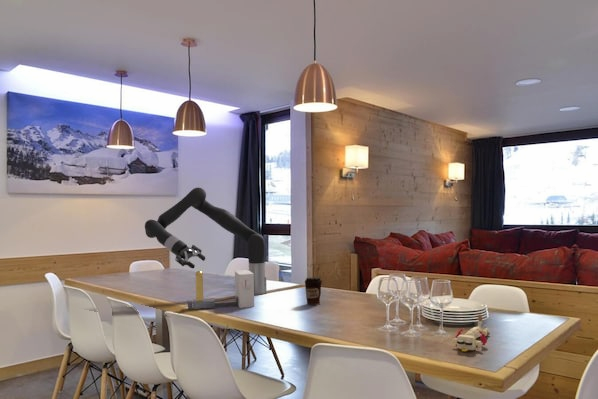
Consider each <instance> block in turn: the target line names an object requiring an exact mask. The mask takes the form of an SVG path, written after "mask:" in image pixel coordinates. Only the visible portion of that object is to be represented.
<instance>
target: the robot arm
mask: <svg viewBox="0 0 598 399" xmlns="http://www.w3.org/2000/svg"><path fill="white" fill-rule="evenodd" d="M206 198H207V192H206V190H205V189H204V188H202V187H194V188H193V189H191V190H190V191H189V193H187V194H186V195H185V196H184V197H183V198H182V199H180V200H179V201H178V202H177V203H176V204H173V206H171V207H170V208H169V209H167V210H166V211H164V212H163V213H161V214H160V215H159V216H158V217H157V220H154V219H149V220H146V221H145V223H144V229H145V230H144V231H145V235H146V237H147V238H150V239H154V238H156V240H157V242H158V243H159V244H160V245H162V246H164V247H165V248H166V249H167V250H168V251H169V252H171V253H172V255H174V256H175V258H174V259H175V261H176V262H177V263H178V264H179V265H180V266H182V267H184V266H188V267H189V268H191V269H195V267H196V264H194V263H193V262H191V261H189V259H191V258H192V257H193V258H194V257H195V258H196V257H197V258H199V259H200V260H202V261H203V262H204V261H206V256H205V255H203V254H202V251H203V250H202V249H201V248H199V247H197V246H196V245H194V244H192V246H191V247H189V246H188V245H187V243H186V242H184V241H182V240H180V238H178V237H176V236H175V235H173V234H172V233H170V232H168V231H167V230H166V229H167V227H169V226H170V225H172V223H174V222H176V221H177V220H178V219H179V218H181V216H182V215H183V214H184V213H185V212H186V211H187V210H188V209H190V208H191V207H192V208H193V209H195V210H197V211H199V212H200V213H202V214H204V215H206V216H207V218H209V219H211V220H212V221H213V222H214V223H216V224H217V225H218V226H220V227H221V228H223V229H224V230H226V231H227V232H229V233H231V234H233V235H235V236H237V237H238V238H240V239H242V240H243V241H244V242H245V243H247V259H248V270H249V271H250V272H252V273H253V274H254V296H255V295H256V296H257V295H265V294H267V293H268V292H267V289H268V288H267V276H266V256H265V244H266V240H265V237H264V236H263V235H262V234H261V233H259V232H256V231H255V230H253V229H251V228H250V227H249V226H247V225H246V224H245V223H243V221H241V220H240V219H239V218H238V217H236V216H235V215H234V214H233V213H231V211H229V210H227V209H225V208H221V207H218V206H215V205H213V204H212V203H210V202H209V201H208V200H206Z"/></svg>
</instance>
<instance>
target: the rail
mask: <svg viewBox="0 0 598 399" xmlns="http://www.w3.org/2000/svg"><path fill="white" fill-rule="evenodd" d="M237 306H238V302H237V301H235V300H228V301H226V300H225V301H215V307H216V308H225V307H226V308H227V307H237ZM238 307H239V306H238ZM193 308H194V305H193V300H187V309H188V311H193V310H194V309H193ZM192 309H193V310H192Z"/></svg>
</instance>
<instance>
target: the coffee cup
mask: <svg viewBox="0 0 598 399" xmlns="http://www.w3.org/2000/svg"><path fill="white" fill-rule="evenodd" d="M322 282H323V281H322V279H321V277H318V276H315V277H314V276H313V277H312V276H311V277H306V279H305V281H304V285H305V286H304V287H305V295H306V296H305V298H306V304H307V305H309V306H318V305H321V300H320V299H321V295H322Z"/></svg>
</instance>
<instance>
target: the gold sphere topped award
mask: <svg viewBox="0 0 598 399" xmlns="http://www.w3.org/2000/svg"><path fill="white" fill-rule="evenodd" d="M203 276H204V274H203V272H202V271H201V270H197V271H196V272H195V299H192V302H193V305H194V309H193V310H201V308H204V309H214V308H213V307H215V302H216V300H215V299H214V297H212V298H211V297H210V298H204V277H203Z"/></svg>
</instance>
